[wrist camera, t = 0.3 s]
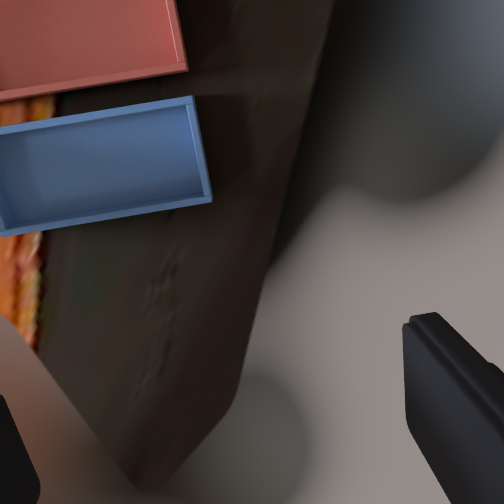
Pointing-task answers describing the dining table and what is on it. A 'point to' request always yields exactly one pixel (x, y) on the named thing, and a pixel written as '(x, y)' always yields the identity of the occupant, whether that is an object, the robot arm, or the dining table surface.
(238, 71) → the dining table surface
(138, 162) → the blue tray
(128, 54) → the rose tray
